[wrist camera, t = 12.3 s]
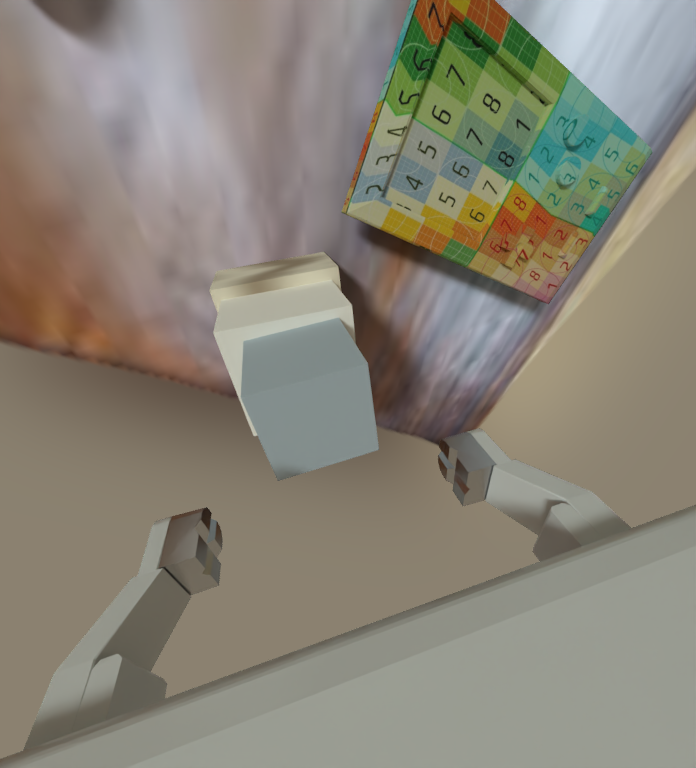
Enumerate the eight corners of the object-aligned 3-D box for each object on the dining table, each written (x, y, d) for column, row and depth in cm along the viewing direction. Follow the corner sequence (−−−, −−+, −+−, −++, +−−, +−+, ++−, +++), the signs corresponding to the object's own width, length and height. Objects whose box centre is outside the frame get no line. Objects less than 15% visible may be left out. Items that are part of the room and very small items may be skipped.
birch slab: (323, 251, 24) (338, 266, 20) (337, 343, 28) (351, 371, 24) (216, 270, 23) (209, 290, 19) (249, 363, 27) (249, 395, 23)
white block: (331, 279, 20) (352, 305, 16) (343, 370, 24) (362, 408, 20) (221, 300, 19) (213, 333, 15) (253, 391, 23) (253, 436, 19)
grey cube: (338, 317, 16) (367, 363, 12) (351, 392, 19) (378, 449, 15) (243, 341, 16) (240, 397, 12) (272, 414, 18) (278, 480, 14)
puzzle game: (556, 307, 27) (349, 215, 19) (518, 291, 30) (332, 209, 22) (666, 151, 22) (446, -69, 14) (604, 155, 25) (403, -15, 17)
